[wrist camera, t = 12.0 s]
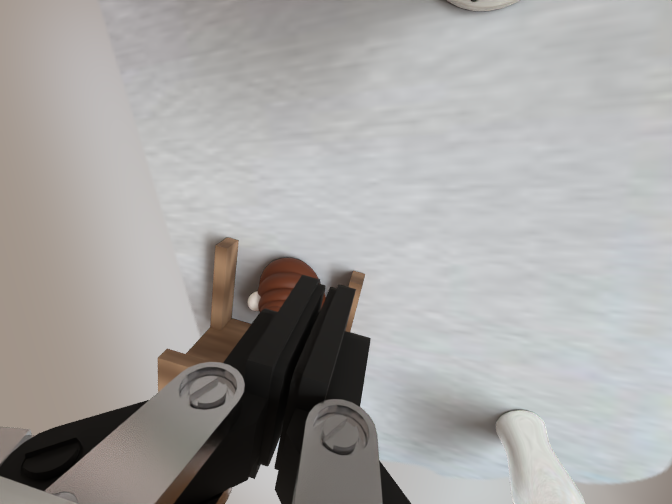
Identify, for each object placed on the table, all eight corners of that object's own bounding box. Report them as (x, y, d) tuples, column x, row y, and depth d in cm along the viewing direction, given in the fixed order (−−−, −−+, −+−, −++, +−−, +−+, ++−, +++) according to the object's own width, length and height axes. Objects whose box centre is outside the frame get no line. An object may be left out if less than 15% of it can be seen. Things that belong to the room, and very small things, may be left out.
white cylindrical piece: (485, 439, 47) (518, 570, 34) (500, 401, 45) (541, 527, 31) (538, 451, 46) (594, 591, 33) (556, 413, 44) (625, 549, 30)
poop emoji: (338, 315, 45) (322, 362, 36) (281, 328, 47) (254, 375, 39) (310, 247, 42) (285, 280, 33) (251, 264, 44) (214, 300, 36)
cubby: (227, 237, 43) (156, 285, 31) (365, 273, 42) (348, 340, 29) (220, 324, 49) (158, 394, 36) (342, 359, 47) (320, 446, 35)
